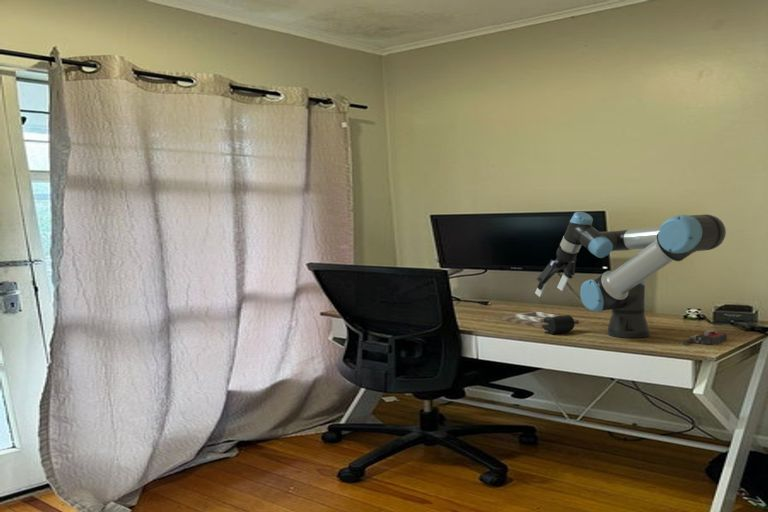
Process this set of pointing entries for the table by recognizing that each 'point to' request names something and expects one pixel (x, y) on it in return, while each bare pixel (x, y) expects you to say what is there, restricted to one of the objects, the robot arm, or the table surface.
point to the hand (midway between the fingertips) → (548, 292)
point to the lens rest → (530, 319)
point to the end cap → (559, 324)
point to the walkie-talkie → (708, 338)
